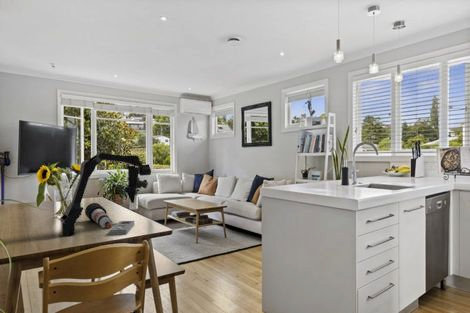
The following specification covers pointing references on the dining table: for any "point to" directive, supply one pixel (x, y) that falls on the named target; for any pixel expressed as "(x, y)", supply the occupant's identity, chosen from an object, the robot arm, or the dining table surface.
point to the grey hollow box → (122, 228)
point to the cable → (98, 215)
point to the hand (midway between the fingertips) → (133, 202)
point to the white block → (135, 204)
